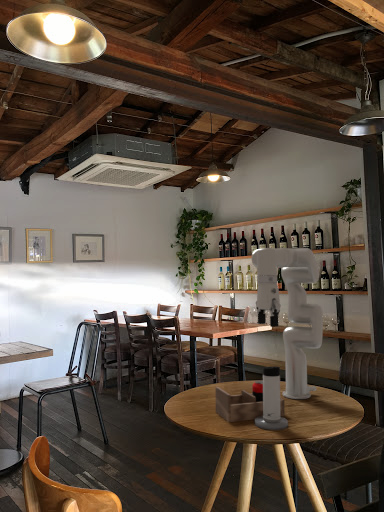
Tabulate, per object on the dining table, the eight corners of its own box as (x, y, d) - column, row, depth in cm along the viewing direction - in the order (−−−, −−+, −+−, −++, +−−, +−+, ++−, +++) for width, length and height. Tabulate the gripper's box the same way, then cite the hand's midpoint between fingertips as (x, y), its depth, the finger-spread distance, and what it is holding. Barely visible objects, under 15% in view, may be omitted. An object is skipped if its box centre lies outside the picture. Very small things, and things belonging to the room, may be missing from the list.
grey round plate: (277, 417, 167) (277, 413, 167) (294, 427, 156) (294, 423, 156) (249, 421, 163) (249, 417, 163) (264, 431, 152) (264, 427, 152)
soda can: (248, 412, 174) (248, 382, 174) (259, 408, 179) (259, 379, 180) (264, 416, 168) (264, 385, 169) (275, 412, 174) (274, 382, 175)
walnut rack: (268, 406, 182) (268, 382, 182) (284, 415, 170) (284, 389, 170) (215, 411, 174) (215, 386, 175) (228, 422, 162) (228, 395, 163)
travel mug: (270, 424, 155) (270, 368, 156) (259, 419, 161) (259, 365, 162) (284, 421, 158) (283, 366, 159) (273, 416, 163) (272, 363, 164)
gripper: (287, 280, 158) (288, 327, 158) (264, 280, 175) (265, 322, 174) (269, 280, 156) (270, 328, 155) (248, 280, 172) (248, 323, 172)
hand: (267, 325), depth 165 cm, fingers open, 9 cm apart
